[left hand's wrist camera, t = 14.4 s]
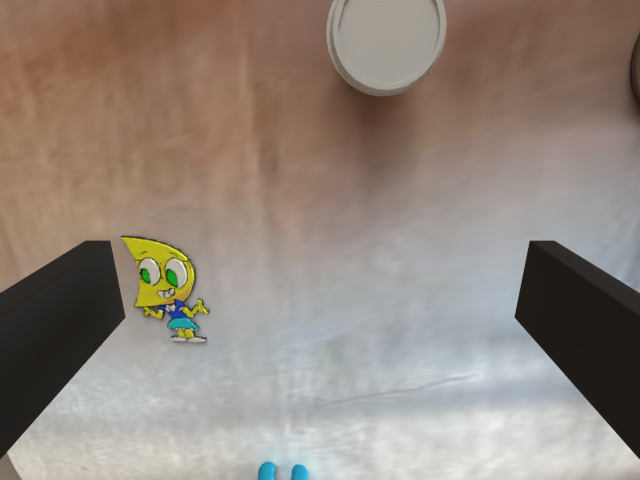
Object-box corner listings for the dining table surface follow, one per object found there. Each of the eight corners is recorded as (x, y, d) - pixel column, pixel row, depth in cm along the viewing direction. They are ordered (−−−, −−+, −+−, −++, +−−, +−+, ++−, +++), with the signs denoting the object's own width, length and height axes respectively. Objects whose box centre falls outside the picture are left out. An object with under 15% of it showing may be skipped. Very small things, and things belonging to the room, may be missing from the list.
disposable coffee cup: (339, -17, 39) (347, -63, 28) (428, 13, 40) (471, -20, 29) (314, 81, 42) (312, 76, 31) (397, 107, 43) (424, 111, 32)
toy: (135, 342, 53) (117, 238, 47) (138, 338, 53) (121, 235, 48) (210, 343, 53) (201, 239, 47) (212, 339, 53) (203, 237, 48)
